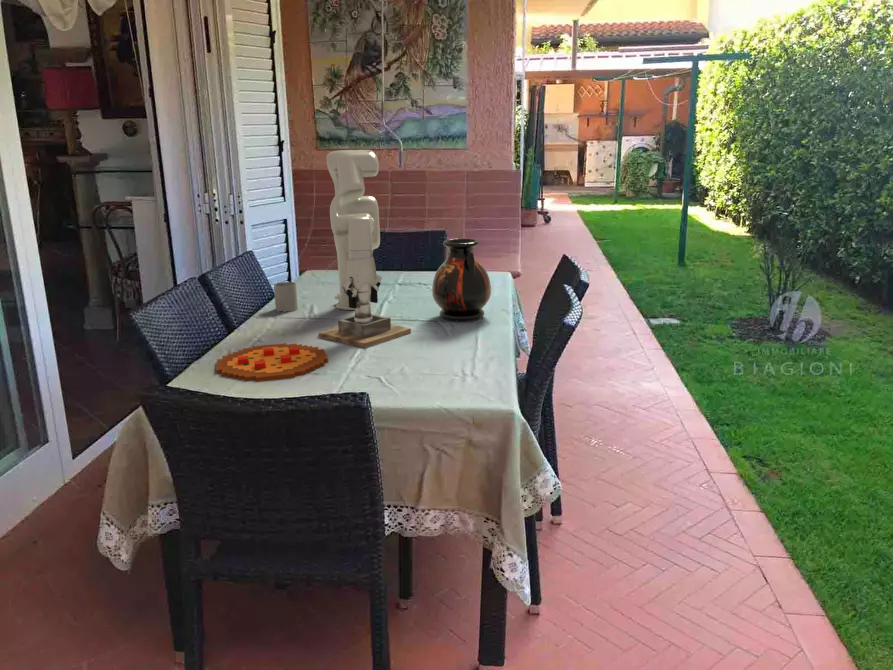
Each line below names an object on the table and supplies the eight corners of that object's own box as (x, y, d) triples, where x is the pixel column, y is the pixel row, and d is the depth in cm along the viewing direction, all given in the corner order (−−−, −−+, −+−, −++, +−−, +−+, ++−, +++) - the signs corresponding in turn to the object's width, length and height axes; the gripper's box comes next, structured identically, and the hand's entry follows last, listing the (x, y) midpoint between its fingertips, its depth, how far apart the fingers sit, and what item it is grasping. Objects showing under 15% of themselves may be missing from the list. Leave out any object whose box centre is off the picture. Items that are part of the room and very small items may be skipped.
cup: (301, 307, 286) (299, 282, 283) (290, 312, 279) (288, 287, 276) (283, 306, 289) (281, 281, 286) (271, 311, 281) (269, 285, 278)
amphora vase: (423, 313, 273) (421, 239, 265) (475, 307, 281) (475, 235, 273) (446, 327, 254) (445, 247, 246) (501, 320, 262) (501, 242, 254)
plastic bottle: (377, 328, 248) (374, 271, 242) (367, 334, 242) (364, 274, 236) (360, 327, 250) (357, 269, 245) (350, 332, 244) (347, 273, 239)
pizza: (333, 374, 208) (332, 364, 208) (216, 387, 200) (215, 376, 199) (320, 344, 238) (319, 335, 237) (218, 354, 230) (216, 344, 229)
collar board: (318, 336, 245) (317, 321, 244) (365, 323, 261) (364, 308, 260) (364, 347, 232) (364, 331, 230) (410, 332, 248) (410, 317, 247)
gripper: (371, 249, 248) (373, 298, 252) (333, 257, 235) (336, 308, 240) (387, 251, 243) (389, 301, 248) (349, 259, 230) (352, 311, 235)
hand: (363, 305), depth 244 cm, fingers open, 9 cm apart
